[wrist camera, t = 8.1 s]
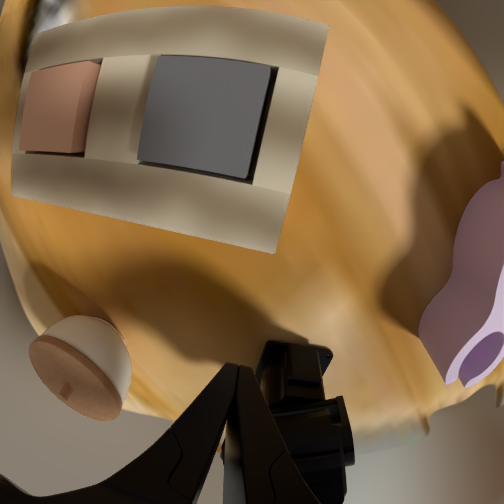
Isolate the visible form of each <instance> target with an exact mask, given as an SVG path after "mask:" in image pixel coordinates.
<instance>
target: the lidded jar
mask: <svg viewBox="0 0 504 504" xmlns="http://www.w3.org/2000/svg"><path fill="white" fill-rule="evenodd" d="M29 356H30V359H31V363H32V365H33V367H34V369H35V371H36V373H37V374H38V376H39V377H40V379H41V380H42V382H43V383H44V384H45V385H46V386H47V388H48V389H49V390H50V391H51V392H52V393H53V394H54V395H55V396H56V397H57V398H59V399H60V400H61V401H62V402H63V403H65V404H66V405H67V406H69V407H70V408H72V409H73V410H75V411H77V412H79V413H80V414H82V415H85V416H87V417H89V418H92V419H95V420H99V421H112V420H114V419H116V418H117V417H118V415H119V413H120V411H121V408H122V405H123V403H124V401H125V398H126V396H127V393H128V390H129V387H130V384H131V379H132V364H131V358H130V355H129V352H128V350H127V345H126V342H125V340H124V338H123V337H122V335H121V334H120V332H119V331H118V330H117V329H116V328H115V327H114V326H113V325H111V324H110V323H109V322H107V321H106V320H103V319H101V318H99V317H92V316H91V317H90V316H84V315H73V316H69V317H65V318H63V319H61V320H59V321H57V322H55V323H54V324H53V325H51V326H50V327H49V328H48V329H46V330H45V331H44V332H43V333H42V334H41V336H39V337H37V338H36V339H35V340H34V341H33V342H32V343H31V344H30V348H29Z"/></svg>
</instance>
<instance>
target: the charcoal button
mask: <svg viewBox="0 0 504 504" xmlns="http://www.w3.org/2000/svg"><path fill="white" fill-rule="evenodd" d="M270 85H271V75H270V66H265V65H260V64H254V63H247V62H241V61H233V60H225V59H215V58H204V57H188V56H158V58H157V62H156V66H155V69H154V73H153V77H152V81H151V85H150V90H149V94H148V99H147V103H146V108H145V113H144V118H143V123H142V129H141V135H140V141H139V147H138V154H137V160H142V161H149V162H156V163H162V164H169V165H175V166H181V167H187V168H193V169H199V170H204V171H209V172H215V173H220V174H225V175H230V176H235V177H240V178H244V179H245V178H246V176H247V175H248V174H249V173H250V172H251V168H252V164H253V159H254V155H255V150H256V146H257V141H258V137H259V132H260V128H261V124H262V119H263V115H264V111H265V106H266V102H267V98H268V93H269V89H270Z"/></svg>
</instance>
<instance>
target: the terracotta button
mask: <svg viewBox="0 0 504 504" xmlns="http://www.w3.org/2000/svg"><path fill="white" fill-rule="evenodd" d="M100 68H101V65H99V64H96V63H93V62H90V61H83V62H77V63H71V64H65V65H60V66H55V67H51V68H46V69H42V70H38V71H34V72H32V73H31V77H30V81H29V86H28V90H27V95H26V100H25V106H24V112H23V119H22V126H21V134H20V145H19V150H24V151H48V152H64V153H74V152H82V151H85V148H86V140H87V133H88V126H89V120H90V114H91V108H92V103H93V98H94V93H95V89H96V84H97V80H98V76H99V72H100Z"/></svg>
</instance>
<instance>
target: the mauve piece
mask: <svg viewBox="0 0 504 504" xmlns="http://www.w3.org/2000/svg"><path fill="white" fill-rule="evenodd" d="M418 335H419V338H420V340H421V342H422V343H423V345H424V347H425V348H426V350H427V352H428V353H429V355H430V357H431V359H432V360H433V362H434V364H435V366H436V367H437V369H438V371H439V373H440V374H441V376H442V378H443V380H444V382H445V384H446V385H449V384H451V383H452V382H454V381H455V380H456V379H457V378H458V377H459V379H460V381H461V382H462V384H463V386H464V387H465V389H466V388H469V387H471V386H473V385H475V384H476V383H478V382H479V381H481V380H482V379H483V378H485V377H486V376H487V375H488V374H489V373H490V372H491V371H492V370H493V369H494V368H495V367H496V366H497V365H498V364H499V362H500V361H501V360H502V358H503V357H504V160H503V161H502V162H501V177H500V178H499V179H495V180H492V181H490V182H488V183H486V184H485V185H483V186H482V187H481V188H480V189H479V190H478V191H477V192H476V193H475V194H474V196H473V197H472V198H471V200H470V201H469V203H468V205H467V207H466V209H465V211H464V213H463V215H462V217H461V220H460V223H459V226H458V229H457V232H456V236H455V241H454V248H453V267H452V272H451V275H450V278H449V280H448V282H447V283H446V285H445V286H444V288H443V289H442V290H441V291H440V292H439V293H438V294H437V295H436V296H435V297H434V298H433V299H432V300H431V301H430V303H429V304H428V305H427V307H426V309H425V310H424V312H423V314H422V317H421V319H420V322H419V328H418Z"/></svg>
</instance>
